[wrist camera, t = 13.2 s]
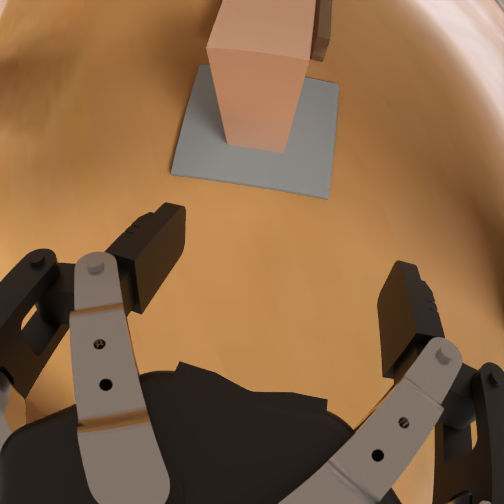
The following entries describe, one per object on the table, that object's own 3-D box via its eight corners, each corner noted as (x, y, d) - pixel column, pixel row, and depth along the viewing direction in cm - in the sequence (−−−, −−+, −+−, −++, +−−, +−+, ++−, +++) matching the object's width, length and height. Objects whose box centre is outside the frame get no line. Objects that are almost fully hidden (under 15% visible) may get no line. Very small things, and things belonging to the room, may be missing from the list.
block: (290, 105, 27) (315, -1, 13) (283, 153, 27) (309, 60, 13) (237, 97, 27) (227, -11, 13) (227, 144, 27) (206, 47, 13)
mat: (337, 87, 27) (339, 84, 27) (327, 199, 27) (328, 198, 26) (200, 67, 28) (199, 64, 27) (172, 175, 27) (170, 173, 27)
